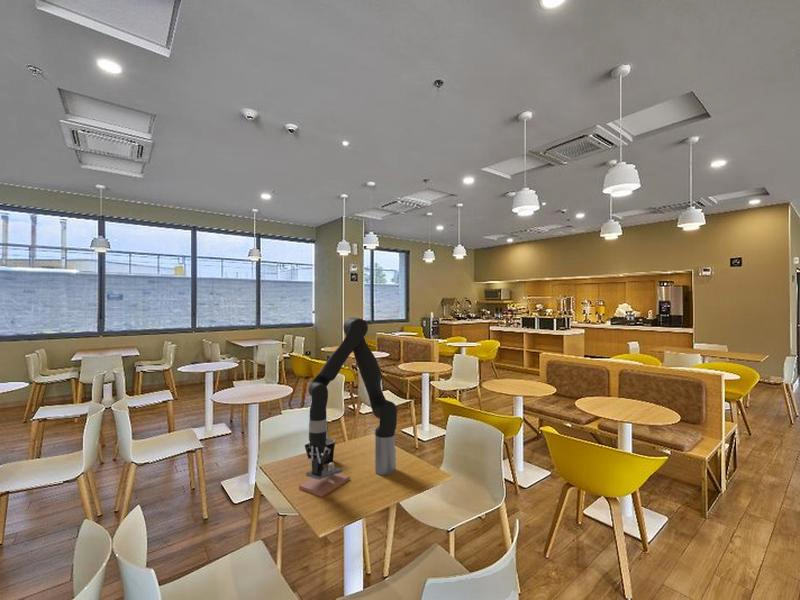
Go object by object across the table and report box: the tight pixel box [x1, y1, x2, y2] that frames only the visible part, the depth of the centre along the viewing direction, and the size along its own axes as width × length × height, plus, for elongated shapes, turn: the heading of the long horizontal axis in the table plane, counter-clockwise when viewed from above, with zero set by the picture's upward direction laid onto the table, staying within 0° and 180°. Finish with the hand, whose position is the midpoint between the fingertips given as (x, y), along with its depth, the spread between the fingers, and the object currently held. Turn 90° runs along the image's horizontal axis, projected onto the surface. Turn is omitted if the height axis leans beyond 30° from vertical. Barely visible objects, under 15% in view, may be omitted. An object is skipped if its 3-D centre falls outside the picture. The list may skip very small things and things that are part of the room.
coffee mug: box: [321, 437, 336, 465], centre depth 186 cm, size 12×9×10 cm
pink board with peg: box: [298, 462, 351, 498], centre depth 162 cm, size 18×13×8 cm
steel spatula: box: [305, 457, 343, 480], centre depth 162 cm, size 15×7×7 cm, turn 149°
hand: (317, 469), depth 158 cm, fingers closed on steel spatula, 3 cm apart
